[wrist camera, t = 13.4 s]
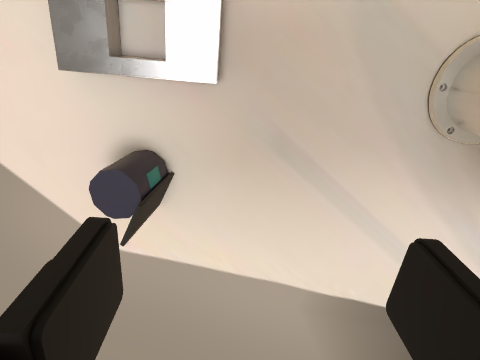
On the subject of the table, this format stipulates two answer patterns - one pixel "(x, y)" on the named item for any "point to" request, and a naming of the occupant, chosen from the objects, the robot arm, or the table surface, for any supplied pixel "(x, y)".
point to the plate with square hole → (112, 62)
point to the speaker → (131, 189)
